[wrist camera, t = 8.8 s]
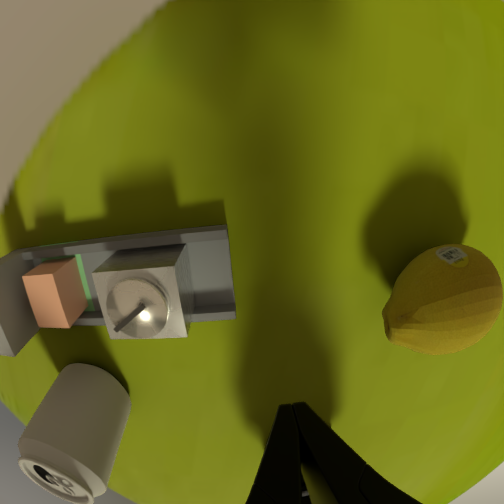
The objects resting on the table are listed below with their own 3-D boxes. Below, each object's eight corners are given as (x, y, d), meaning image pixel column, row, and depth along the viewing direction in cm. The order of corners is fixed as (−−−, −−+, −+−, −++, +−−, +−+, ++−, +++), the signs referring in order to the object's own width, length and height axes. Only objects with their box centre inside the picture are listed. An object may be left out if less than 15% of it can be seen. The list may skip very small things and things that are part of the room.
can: (58, 348, 22) (-5, 439, 11) (132, 369, 23) (90, 482, 12) (70, 402, 25) (28, 487, 13) (135, 421, 25) (109, 519, 14)
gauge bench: (226, 224, 20) (223, 253, 14) (235, 308, 22) (237, 361, 16) (16, 249, 19) (-32, 276, 13) (36, 316, 21) (-2, 354, 15)
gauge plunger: (186, 243, 20) (171, 271, 15) (195, 303, 21) (185, 344, 16) (117, 249, 20) (85, 278, 15) (130, 306, 21) (106, 346, 16)
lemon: (470, 231, 21) (535, 261, 14) (454, 311, 24) (505, 355, 16) (366, 233, 21) (427, 273, 13) (356, 327, 23) (397, 391, 16)
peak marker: (75, 256, 20) (52, 273, 16) (88, 305, 21) (69, 328, 18) (46, 259, 20) (21, 276, 16) (59, 306, 21) (38, 327, 17)
